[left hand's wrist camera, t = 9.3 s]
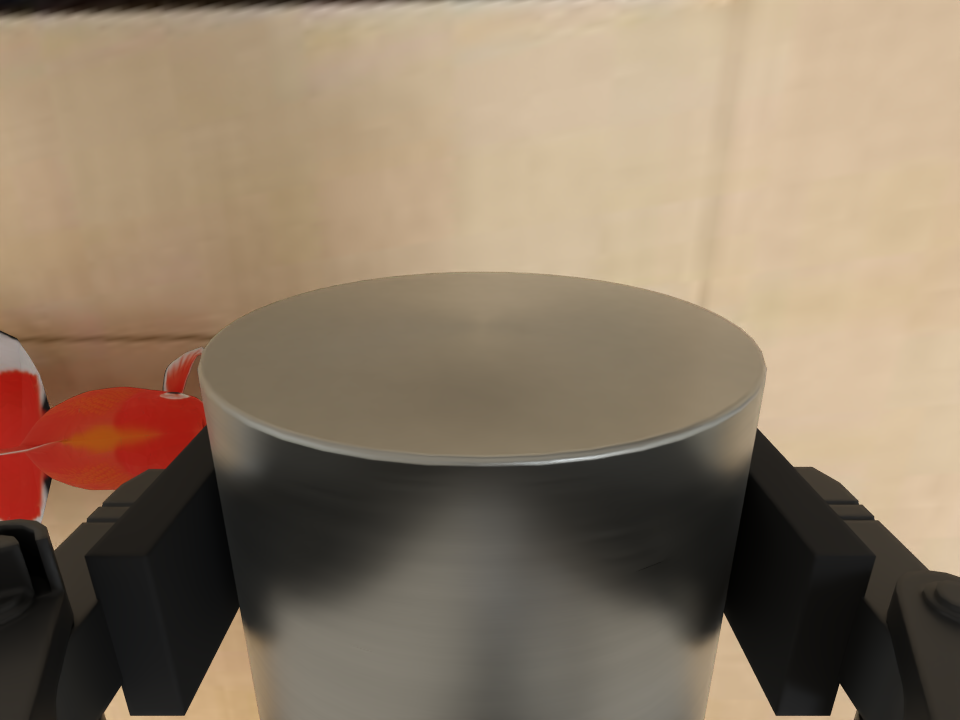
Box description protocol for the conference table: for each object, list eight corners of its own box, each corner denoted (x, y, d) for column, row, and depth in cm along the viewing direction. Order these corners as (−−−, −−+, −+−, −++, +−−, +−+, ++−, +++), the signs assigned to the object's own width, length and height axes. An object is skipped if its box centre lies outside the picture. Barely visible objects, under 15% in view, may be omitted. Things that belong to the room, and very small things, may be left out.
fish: (261, 605, 27) (15, 719, 17) (41, 507, 33) (-229, 553, 23) (304, 368, 26) (77, 356, 17) (74, 312, 32) (-186, 282, 23)
